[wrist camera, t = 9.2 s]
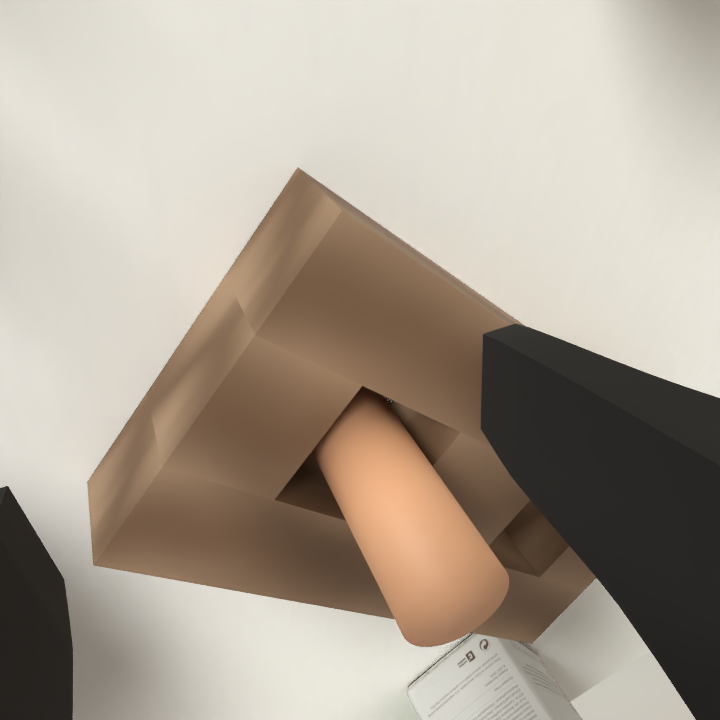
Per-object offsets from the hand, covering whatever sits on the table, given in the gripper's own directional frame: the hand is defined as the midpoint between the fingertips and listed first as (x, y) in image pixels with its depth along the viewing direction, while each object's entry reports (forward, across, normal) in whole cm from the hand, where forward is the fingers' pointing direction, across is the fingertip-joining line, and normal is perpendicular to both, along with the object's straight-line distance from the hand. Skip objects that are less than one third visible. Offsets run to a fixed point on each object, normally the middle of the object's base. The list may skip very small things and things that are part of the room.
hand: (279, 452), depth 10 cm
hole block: (+10, -7, +11) cm, 17 cm away
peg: (+10, -4, +8) cm, 13 cm away
